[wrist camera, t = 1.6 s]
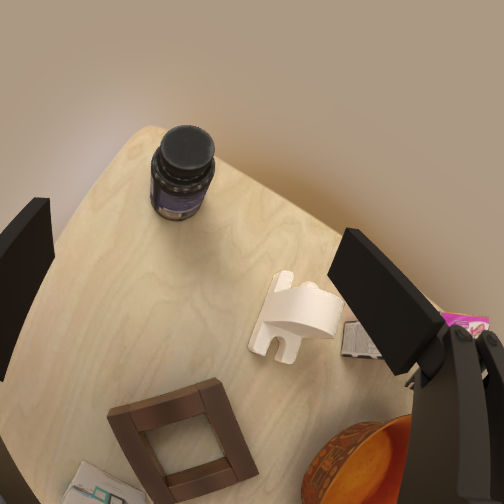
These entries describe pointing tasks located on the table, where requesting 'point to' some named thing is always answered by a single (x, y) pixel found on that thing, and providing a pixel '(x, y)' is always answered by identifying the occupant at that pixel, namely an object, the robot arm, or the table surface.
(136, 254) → the table surface
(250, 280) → the table surface
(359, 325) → the candy bar box
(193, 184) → the pill bottle
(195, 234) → the table surface
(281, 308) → the cable organizer
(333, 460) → the bowl
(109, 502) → the ink box
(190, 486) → the dock
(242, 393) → the table surface
